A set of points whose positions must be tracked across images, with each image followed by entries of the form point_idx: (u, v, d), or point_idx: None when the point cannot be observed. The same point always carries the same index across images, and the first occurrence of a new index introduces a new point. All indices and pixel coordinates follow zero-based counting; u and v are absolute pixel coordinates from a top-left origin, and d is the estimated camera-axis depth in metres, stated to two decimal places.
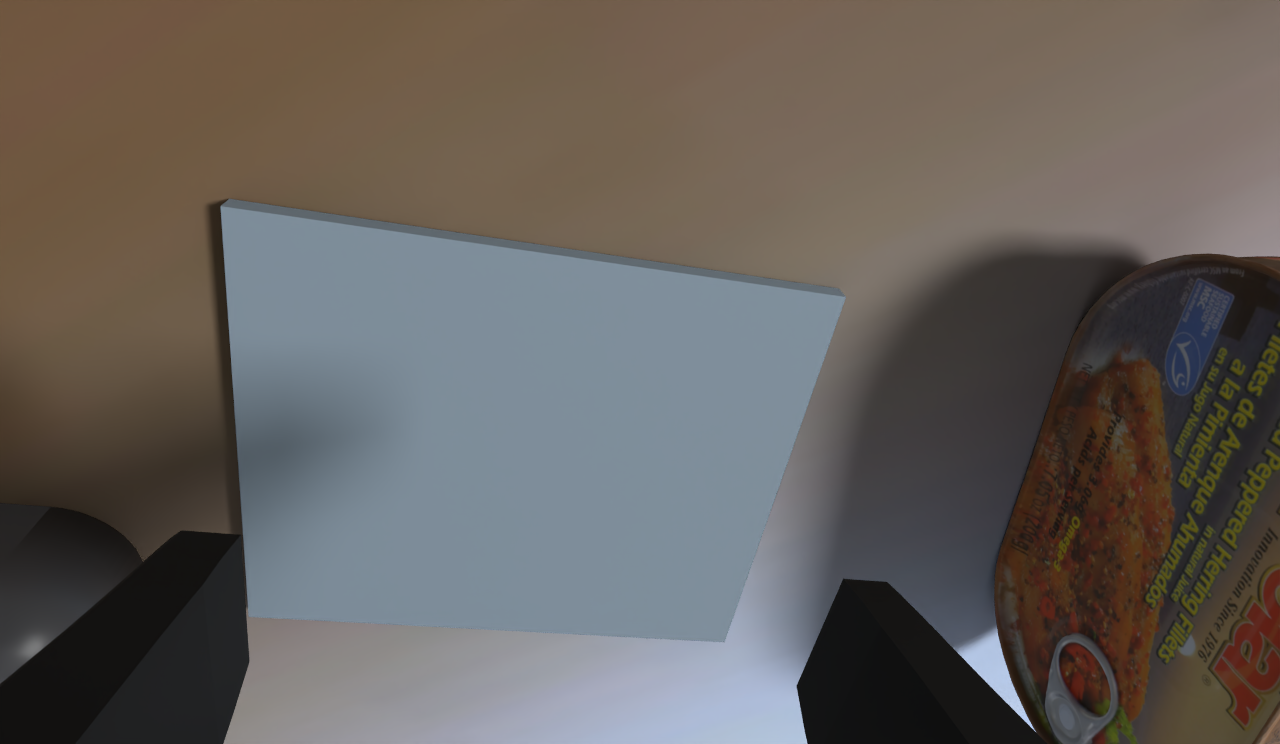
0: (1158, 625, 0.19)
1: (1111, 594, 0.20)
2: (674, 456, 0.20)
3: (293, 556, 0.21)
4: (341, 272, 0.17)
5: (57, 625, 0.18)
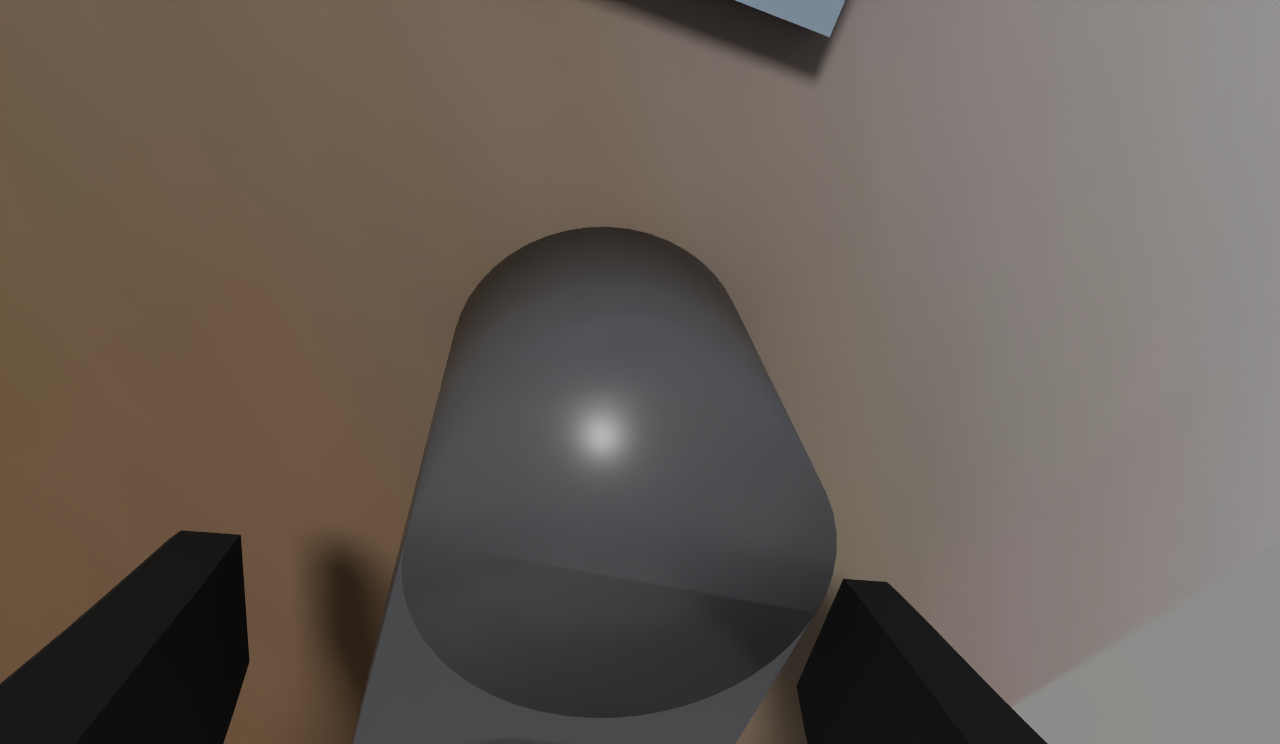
0: None
1: None
2: None
3: None
4: None
5: (542, 358, 0.07)
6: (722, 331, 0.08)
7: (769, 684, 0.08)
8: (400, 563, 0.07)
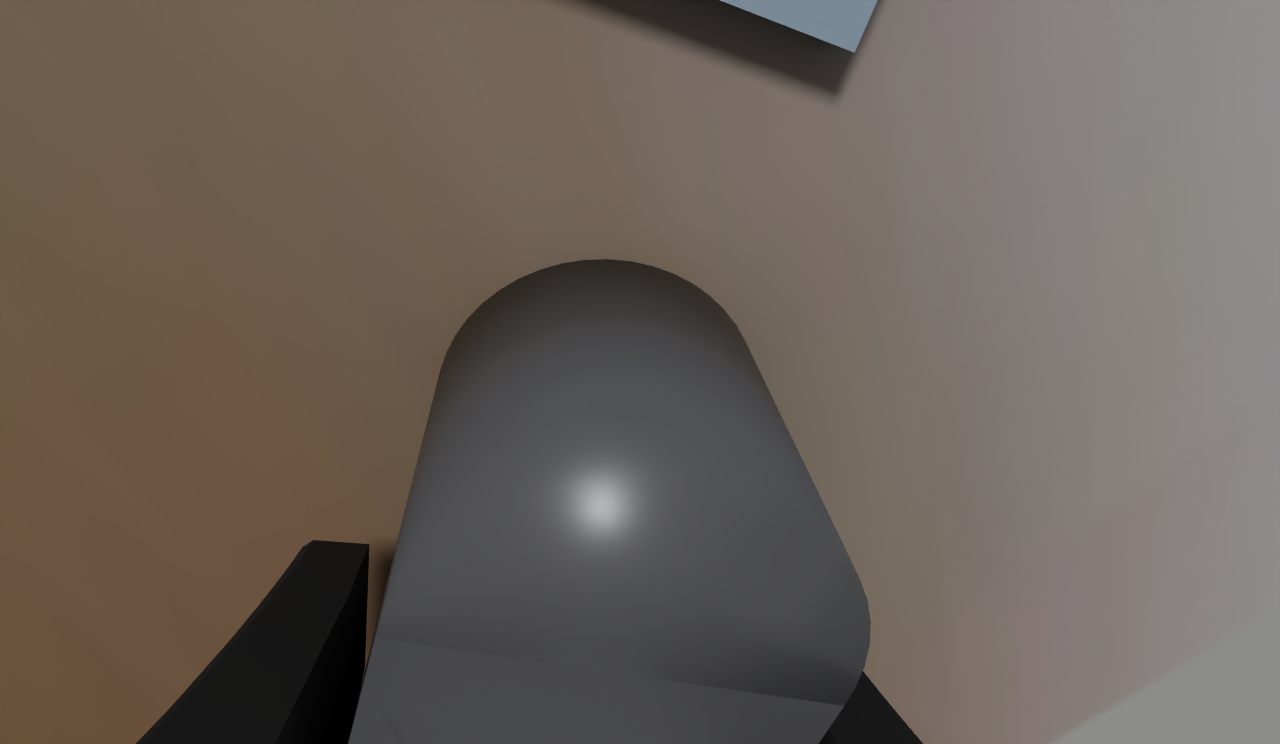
0: None
1: None
2: None
3: None
4: None
5: (534, 426, 0.06)
6: (737, 385, 0.07)
7: None
8: (369, 664, 0.06)
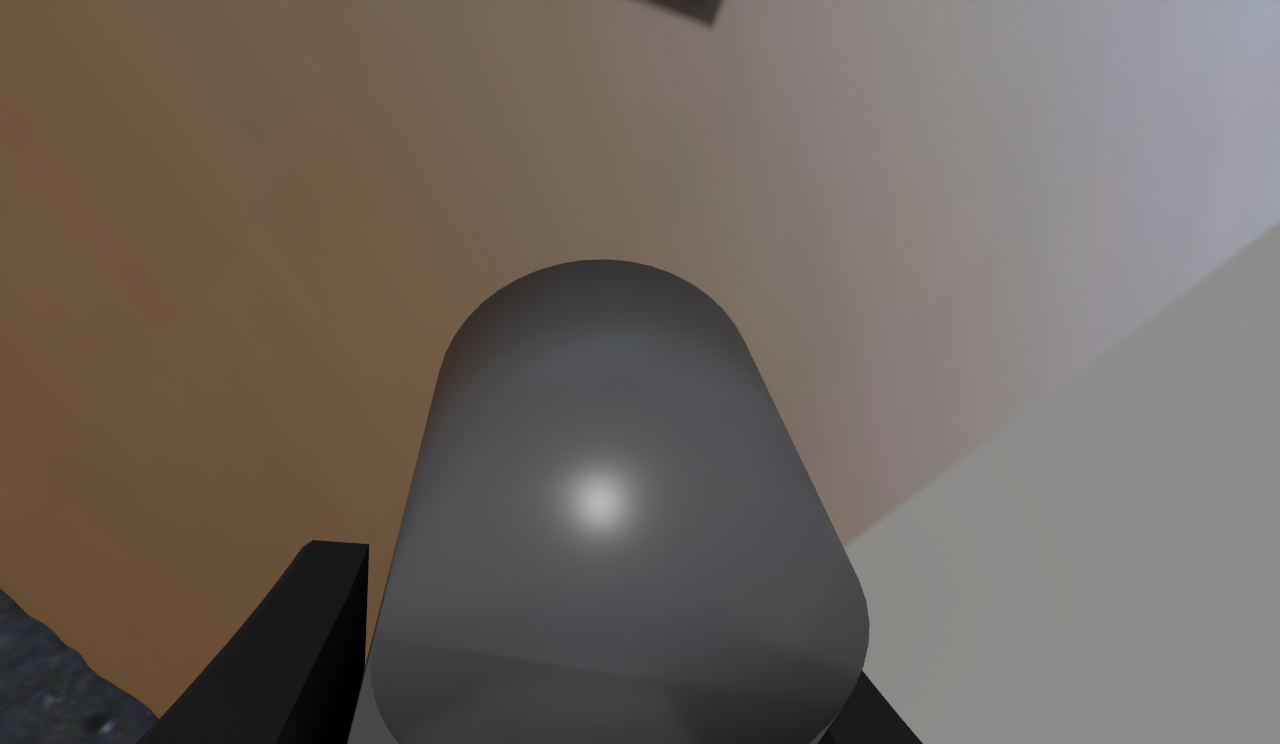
0: None
1: None
2: None
3: None
4: None
5: (532, 424, 0.06)
6: (736, 385, 0.07)
7: None
8: (368, 664, 0.06)
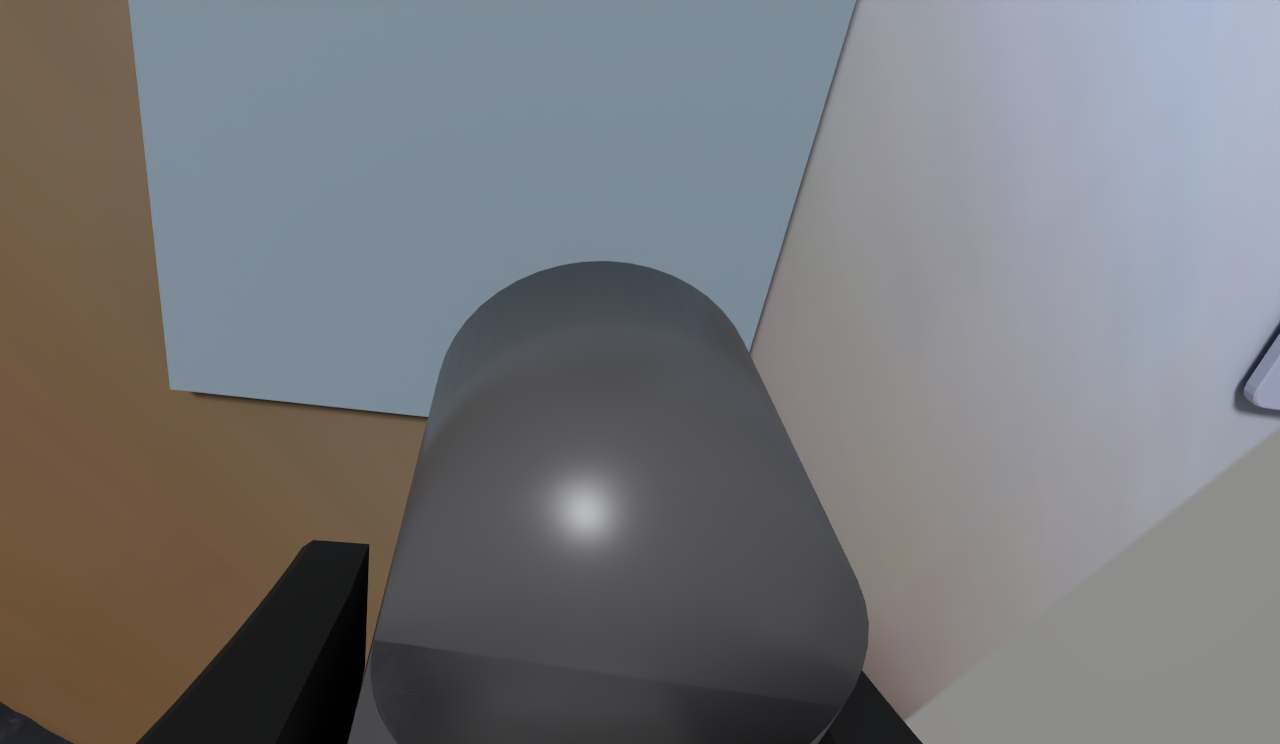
0: None
1: None
2: None
3: None
4: (222, 292, 0.15)
5: (531, 427, 0.06)
6: (736, 386, 0.07)
7: None
8: (368, 666, 0.06)
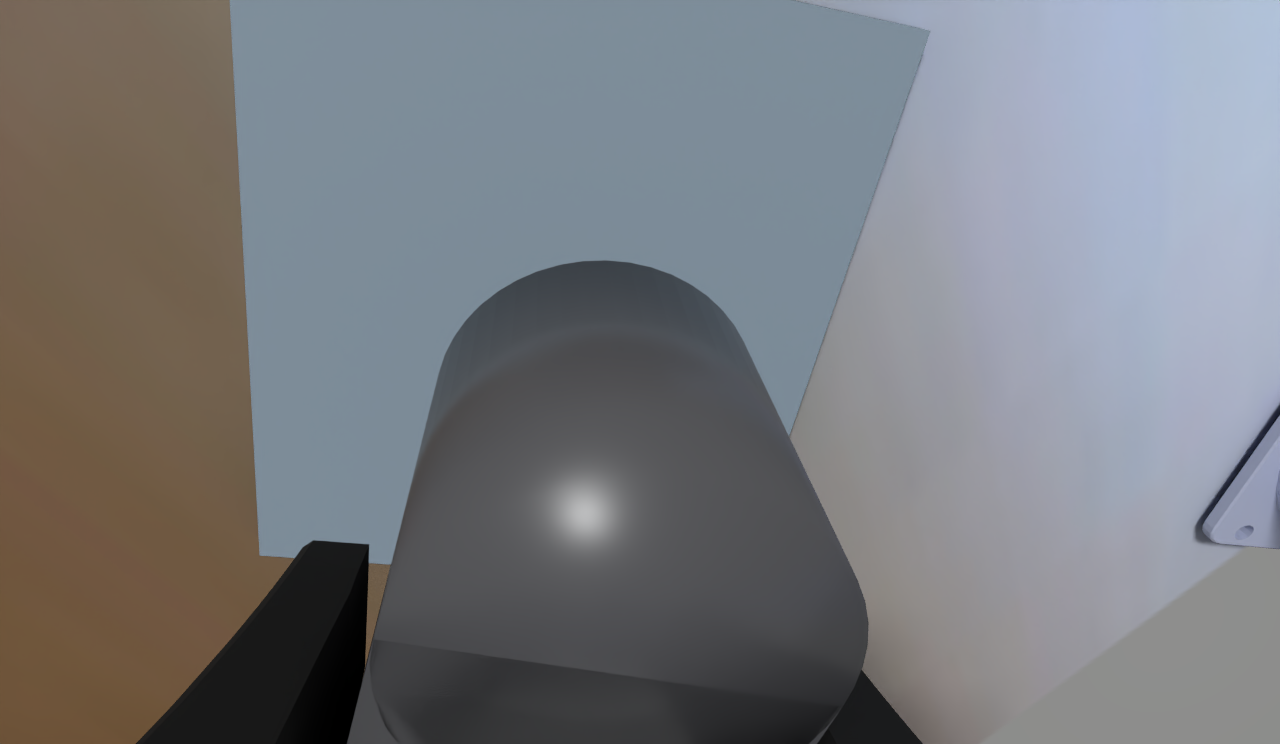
0: None
1: None
2: (532, 137, 0.14)
3: None
4: (308, 480, 0.17)
5: (531, 427, 0.06)
6: (735, 385, 0.07)
7: None
8: (368, 665, 0.06)
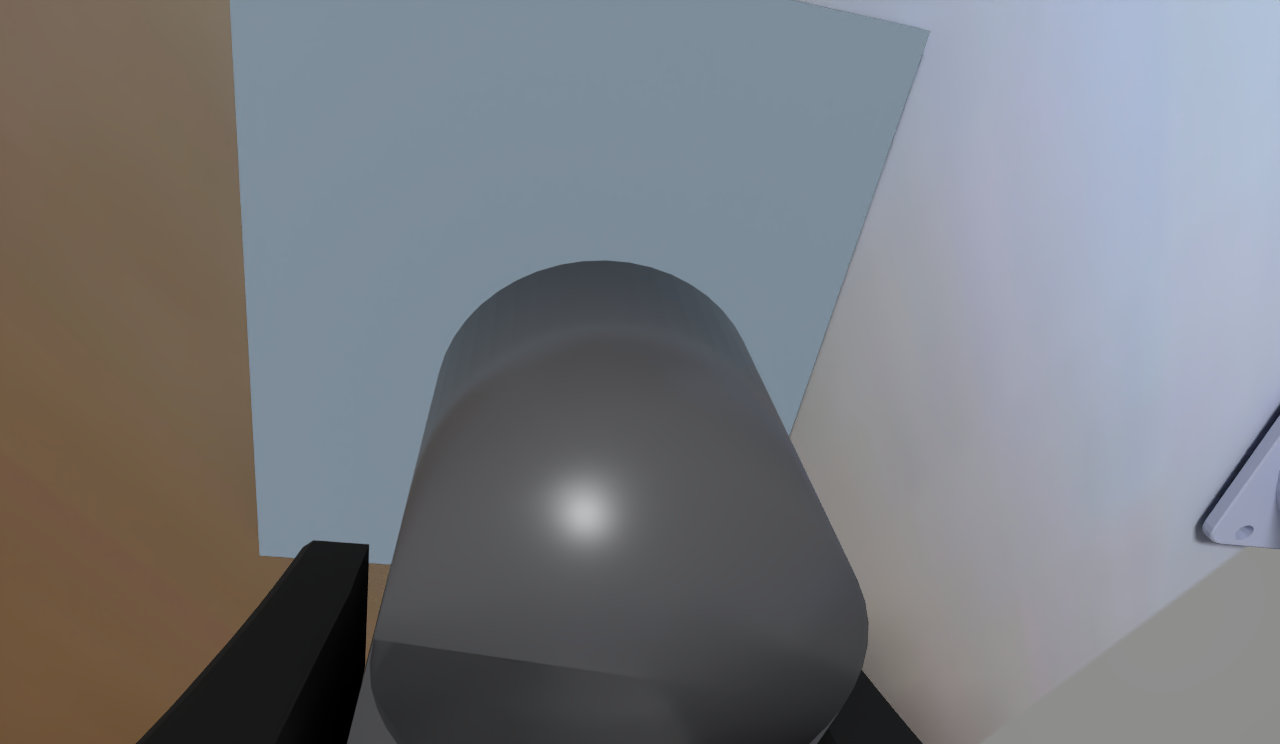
0: None
1: None
2: (532, 137, 0.14)
3: None
4: (308, 480, 0.17)
5: (531, 427, 0.06)
6: (735, 385, 0.07)
7: None
8: (368, 665, 0.06)
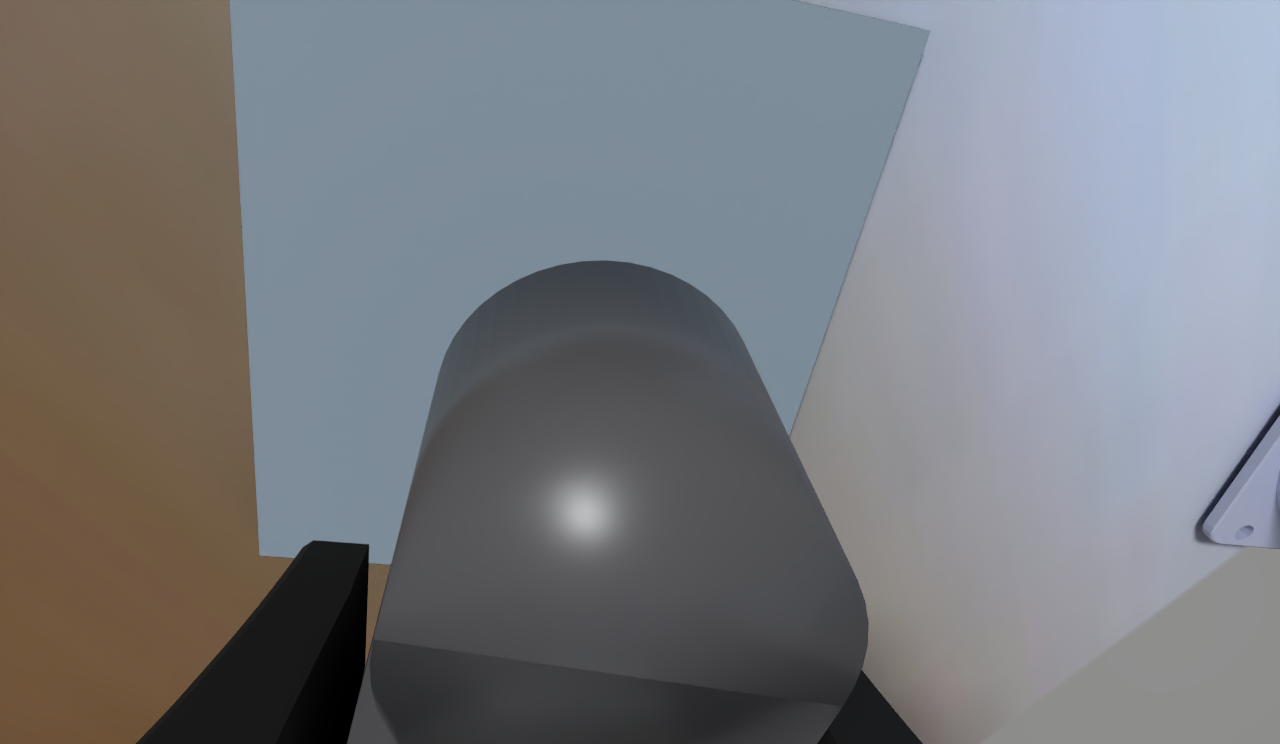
0: None
1: None
2: (532, 137, 0.14)
3: None
4: (308, 480, 0.17)
5: (531, 427, 0.06)
6: (735, 385, 0.07)
7: None
8: (368, 665, 0.06)
